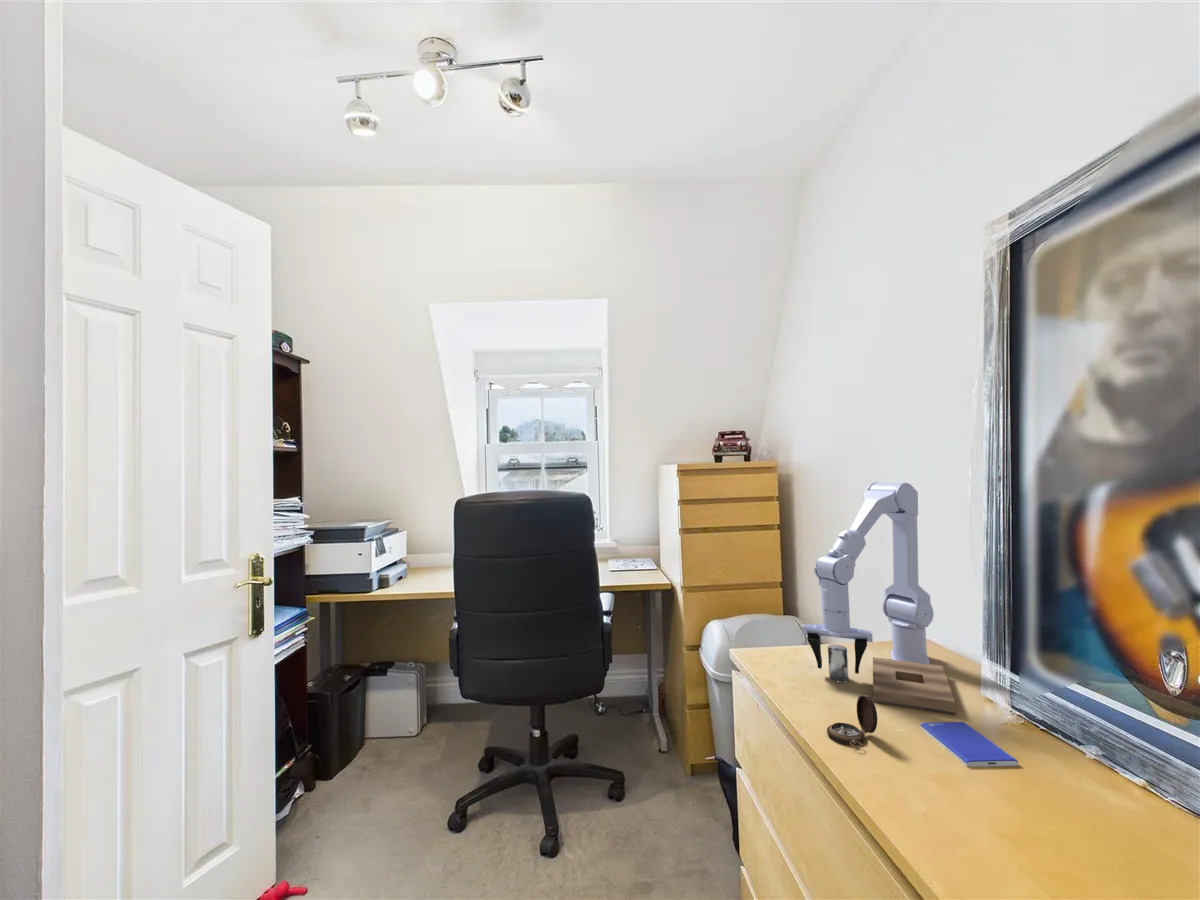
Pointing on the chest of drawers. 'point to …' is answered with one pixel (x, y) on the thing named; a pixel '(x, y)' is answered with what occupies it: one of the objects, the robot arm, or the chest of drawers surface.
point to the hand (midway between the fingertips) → (838, 669)
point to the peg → (838, 663)
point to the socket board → (912, 685)
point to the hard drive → (967, 744)
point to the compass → (850, 732)
